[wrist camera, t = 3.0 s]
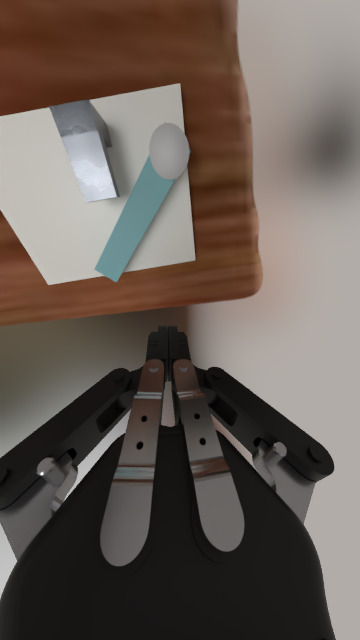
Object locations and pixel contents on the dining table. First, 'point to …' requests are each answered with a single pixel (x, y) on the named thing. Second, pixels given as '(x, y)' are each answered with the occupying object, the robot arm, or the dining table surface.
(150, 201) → the teal long piece
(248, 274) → the dining table surface
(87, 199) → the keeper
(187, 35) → the dining table surface
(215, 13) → the dining table surface
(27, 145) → the board
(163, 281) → the dining table surface
